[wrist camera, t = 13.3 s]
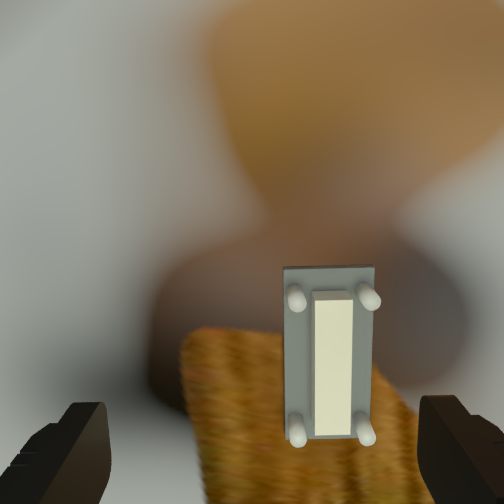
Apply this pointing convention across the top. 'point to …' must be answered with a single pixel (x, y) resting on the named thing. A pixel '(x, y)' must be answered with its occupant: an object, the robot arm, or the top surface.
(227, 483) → the top surface
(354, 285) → the grey pegged tray
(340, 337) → the clay strip
